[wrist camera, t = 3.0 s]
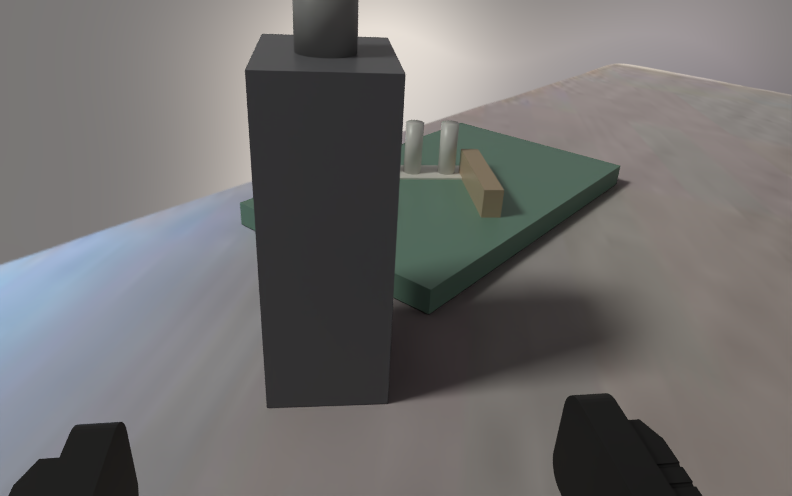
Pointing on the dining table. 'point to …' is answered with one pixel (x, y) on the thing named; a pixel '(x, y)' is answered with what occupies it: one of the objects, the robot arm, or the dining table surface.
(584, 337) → the dining table surface
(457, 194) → the board
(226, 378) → the dining table surface
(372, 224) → the block
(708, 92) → the dining table surface
